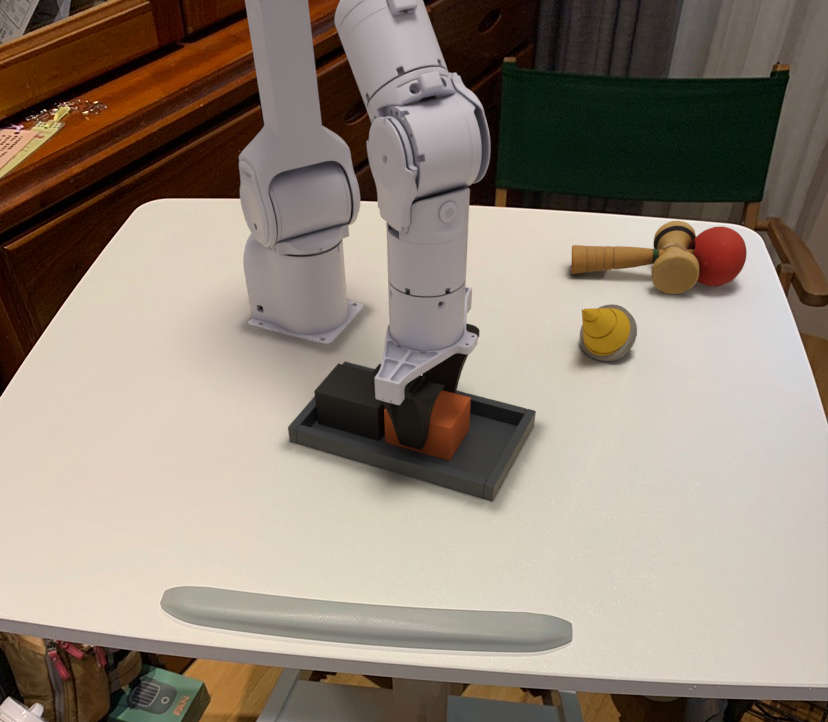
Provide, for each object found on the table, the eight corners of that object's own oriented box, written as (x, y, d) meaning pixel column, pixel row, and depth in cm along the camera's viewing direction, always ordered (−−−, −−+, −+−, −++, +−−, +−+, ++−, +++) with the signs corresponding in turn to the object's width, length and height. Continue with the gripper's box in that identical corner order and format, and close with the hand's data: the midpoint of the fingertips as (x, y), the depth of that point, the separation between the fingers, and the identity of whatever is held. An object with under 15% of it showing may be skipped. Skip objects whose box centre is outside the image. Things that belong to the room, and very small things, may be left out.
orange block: (385, 442, 70) (383, 410, 68) (406, 413, 73) (406, 380, 71) (449, 461, 69) (450, 428, 66) (469, 430, 72) (471, 397, 69)
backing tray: (290, 445, 71) (287, 427, 70) (346, 378, 78) (344, 360, 76) (492, 505, 66) (493, 487, 64) (533, 428, 72) (536, 410, 71)
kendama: (570, 304, 89) (747, 296, 85) (570, 244, 85) (756, 233, 81) (572, 281, 95) (737, 272, 91) (572, 224, 91) (744, 212, 87)
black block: (317, 423, 72) (313, 391, 70) (341, 395, 75) (338, 362, 72) (379, 441, 71) (377, 408, 68) (400, 411, 73) (400, 378, 71)
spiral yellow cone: (646, 366, 80) (612, 333, 71) (593, 374, 82) (554, 344, 74) (645, 312, 80) (611, 273, 72) (593, 323, 83) (554, 287, 75)
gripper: (439, 340, 54) (436, 490, 64) (511, 243, 63) (499, 388, 73) (344, 317, 56) (355, 466, 66) (427, 226, 65) (426, 370, 75)
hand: (425, 424), depth 70 cm, fingers open, 5 cm apart
